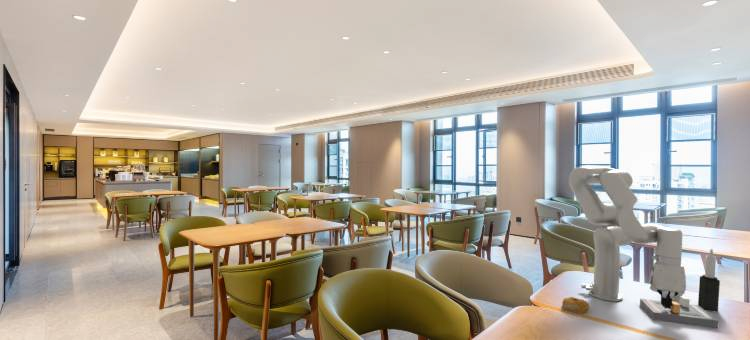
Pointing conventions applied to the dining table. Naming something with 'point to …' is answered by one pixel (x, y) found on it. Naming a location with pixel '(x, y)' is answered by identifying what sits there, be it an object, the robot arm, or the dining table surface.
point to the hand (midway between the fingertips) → (666, 307)
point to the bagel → (576, 305)
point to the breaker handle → (675, 307)
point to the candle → (709, 286)
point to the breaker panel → (686, 315)
